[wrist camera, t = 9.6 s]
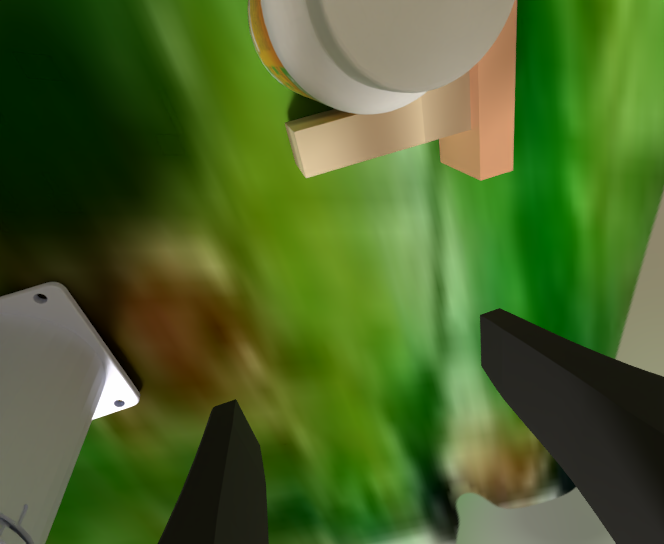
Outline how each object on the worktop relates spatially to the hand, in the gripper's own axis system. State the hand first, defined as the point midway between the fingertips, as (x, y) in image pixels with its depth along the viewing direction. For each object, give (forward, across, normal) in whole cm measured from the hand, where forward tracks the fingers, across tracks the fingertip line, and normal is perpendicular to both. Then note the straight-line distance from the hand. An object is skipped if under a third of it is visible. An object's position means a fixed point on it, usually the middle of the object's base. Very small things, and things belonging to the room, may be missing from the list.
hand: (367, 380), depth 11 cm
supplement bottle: (+10, -3, -9) cm, 14 cm away
